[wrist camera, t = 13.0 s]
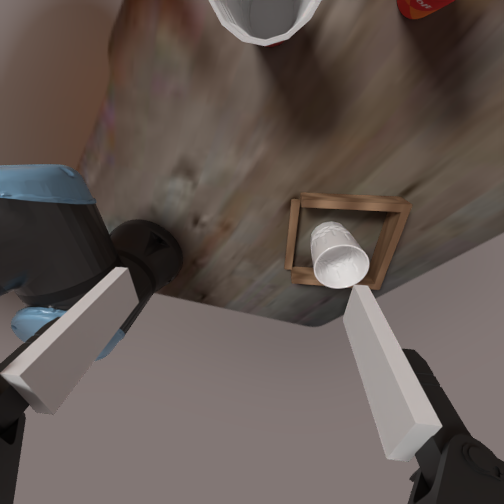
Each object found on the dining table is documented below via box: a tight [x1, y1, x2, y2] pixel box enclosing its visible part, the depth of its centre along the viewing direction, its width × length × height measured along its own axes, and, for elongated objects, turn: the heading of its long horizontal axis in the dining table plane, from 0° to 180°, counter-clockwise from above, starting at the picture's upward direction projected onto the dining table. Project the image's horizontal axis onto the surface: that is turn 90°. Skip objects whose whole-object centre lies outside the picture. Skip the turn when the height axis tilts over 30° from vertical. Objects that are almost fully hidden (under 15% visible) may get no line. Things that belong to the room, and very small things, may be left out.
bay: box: [284, 193, 412, 290], centre depth 40 cm, size 18×16×4 cm
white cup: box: [310, 221, 369, 289], centre depth 38 cm, size 8×8×10 cm
